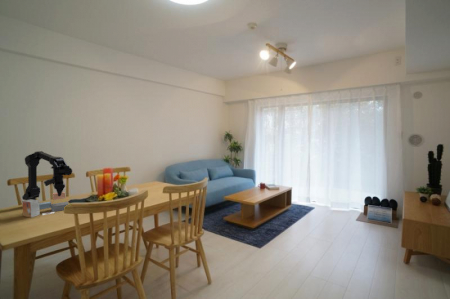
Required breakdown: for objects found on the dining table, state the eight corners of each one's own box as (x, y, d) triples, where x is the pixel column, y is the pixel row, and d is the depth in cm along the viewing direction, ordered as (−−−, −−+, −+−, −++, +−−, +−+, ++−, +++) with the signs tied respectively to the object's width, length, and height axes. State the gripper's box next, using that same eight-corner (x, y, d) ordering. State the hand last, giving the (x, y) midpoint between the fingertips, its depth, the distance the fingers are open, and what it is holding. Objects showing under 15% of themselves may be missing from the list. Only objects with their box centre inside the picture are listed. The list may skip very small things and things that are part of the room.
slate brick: (39, 208, 173) (38, 203, 173) (50, 206, 178) (50, 201, 178) (39, 210, 169) (39, 204, 169) (51, 208, 174) (51, 202, 174)
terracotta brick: (52, 198, 169) (52, 192, 168) (64, 196, 173) (64, 191, 173) (53, 199, 165) (53, 194, 165) (65, 198, 169) (65, 192, 169)
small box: (22, 216, 156) (21, 201, 155) (31, 213, 161) (31, 198, 160) (31, 217, 153) (30, 202, 153) (40, 214, 159) (39, 199, 158)
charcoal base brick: (50, 209, 169) (50, 204, 169) (67, 206, 176) (67, 201, 176) (51, 212, 163) (51, 206, 163) (68, 209, 170) (68, 204, 170)
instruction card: (41, 213, 161) (41, 213, 161) (54, 211, 165) (54, 211, 165) (42, 215, 157) (42, 215, 157) (54, 213, 162) (54, 212, 162)
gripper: (43, 174, 170) (44, 194, 171) (44, 177, 156) (45, 200, 157) (61, 172, 177) (62, 192, 178) (64, 175, 163) (65, 197, 164)
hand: (59, 195), depth 169 cm, fingers closed on terracotta brick, 5 cm apart
